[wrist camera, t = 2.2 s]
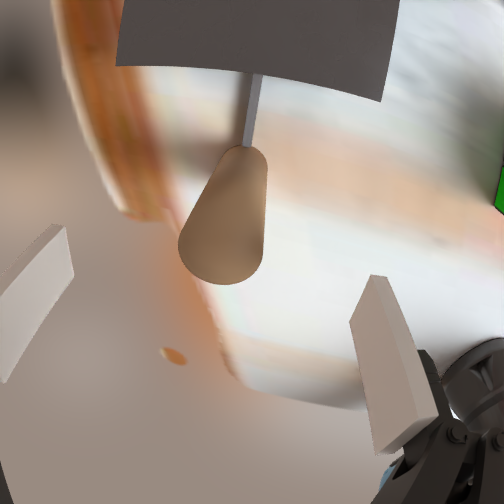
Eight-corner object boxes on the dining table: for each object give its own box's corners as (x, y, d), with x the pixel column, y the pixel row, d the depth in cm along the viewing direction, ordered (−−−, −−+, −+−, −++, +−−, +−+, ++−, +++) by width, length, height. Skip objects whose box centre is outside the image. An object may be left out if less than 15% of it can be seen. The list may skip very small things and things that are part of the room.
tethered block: (271, 195, 27) (270, 292, 16) (208, 185, 27) (163, 275, 16) (317, -54, 15) (351, -136, 4) (248, -64, 14) (227, -151, 4)
